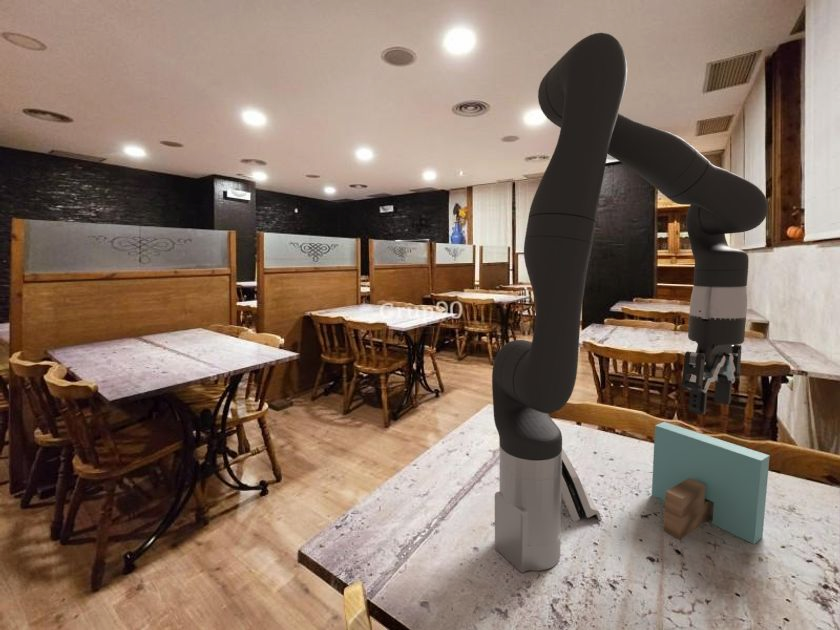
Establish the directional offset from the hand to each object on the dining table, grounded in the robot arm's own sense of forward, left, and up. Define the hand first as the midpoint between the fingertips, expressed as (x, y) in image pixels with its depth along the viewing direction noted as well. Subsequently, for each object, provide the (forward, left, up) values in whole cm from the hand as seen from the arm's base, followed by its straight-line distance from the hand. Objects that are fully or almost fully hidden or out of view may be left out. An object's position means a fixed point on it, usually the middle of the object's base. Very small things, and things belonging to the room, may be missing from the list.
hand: (709, 407), depth 67 cm
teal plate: (0, 0, -20) cm, 20 cm away
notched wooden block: (0, 0, -20) cm, 20 cm away
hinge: (-15, +17, -20) cm, 30 cm away
